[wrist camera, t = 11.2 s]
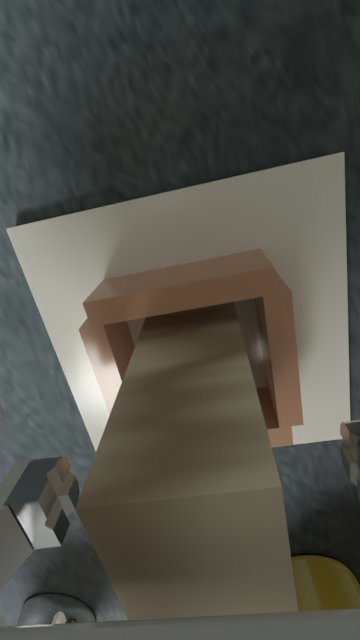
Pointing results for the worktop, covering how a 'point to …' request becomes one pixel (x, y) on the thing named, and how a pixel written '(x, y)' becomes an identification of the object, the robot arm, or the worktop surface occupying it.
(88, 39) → the worktop surface
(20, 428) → the worktop surface
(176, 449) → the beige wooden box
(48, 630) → the robot arm
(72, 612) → the beer glass
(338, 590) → the plant pot
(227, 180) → the framed base plate
